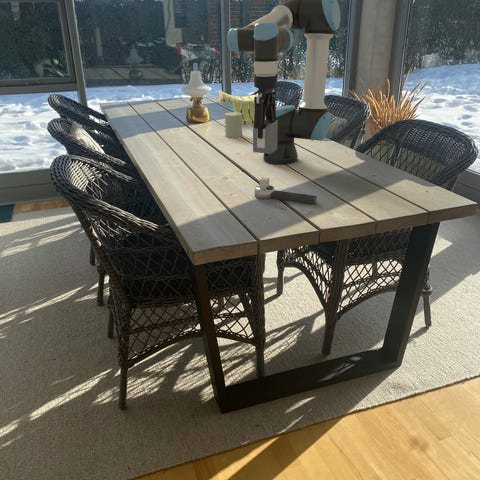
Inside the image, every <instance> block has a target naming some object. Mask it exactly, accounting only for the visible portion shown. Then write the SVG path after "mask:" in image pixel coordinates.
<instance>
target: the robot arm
mask: <svg viewBox="0 0 480 480" xmlns="http://www.w3.org/2000/svg"><path fill="white" fill-rule="evenodd" d="M340 24H341V8H340V5H339V2H338V0H286V1H284V2H282V3H279V4H278V5H276V6H274V7H273V8H272V10H271V11H270V12H269V13H267V14H265V15H263V16H262V17H260V18H258V19H257V20H255V21H253V22H251V23H249V24H248V25H246V26H244V27H233V28H230V29H229V30H228V31H227V32H228V33H227V35H226V42H227V47H228V49H229V50H230V51H231V52H238V53H253V55H254V56H253V57H254V58H253V61H254V63H253V64H252V66H253V68H254V69H253V70H254V71H253V73H254V74H255V75H254V76H253V86H254V88H256V89H258V92H257V93H258V97H254V102H255V109H254V128H257V148H265V128H264V125H265V119H268V120H278V136H277V150H275V151H274V152H272V153H271V154H267V153H263V161H264V162H265V163H266V164H267V163H268V164H272V165H289V164H294V163H296V162H298V160H299V159H298V158H299V155H298V151H297V148H296V144H295V139H299V140H300V139H301V140H310V141H323V140H324V139H325V138H326V137H327V135H328V133H329V130H330V127H331V124H332V123H331V122H332V114H331V112H329V111H328V106H327V105H326V104H325V96H326V95H325V93H326V82H327V70H328V59H329V48H330V47H329V46H330V39H332V38H333V37H335V36H334V35H335V32H336V31H337V30H339V28H340ZM292 30H294V31H303V35H304V37H305V38H306V53H305V56H306V57H305V65H304V66H305V68H304V81H303V97H302V103H301V104H300V105H299V106H298V109H296V105H292V104H290V105H289V104H287V105H278V106H277V104H276V103H277V100H276V99H277V91H275V90H274V89H275V88H277V87H278V75H277V74H278V69H279V68H278V62H279V61H278V54H279V53H285V52H287V51H289V50H291V48H292V47H293V45H294V42H295V41H294V40H295V39H294V34H293V32H292Z"/></svg>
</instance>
